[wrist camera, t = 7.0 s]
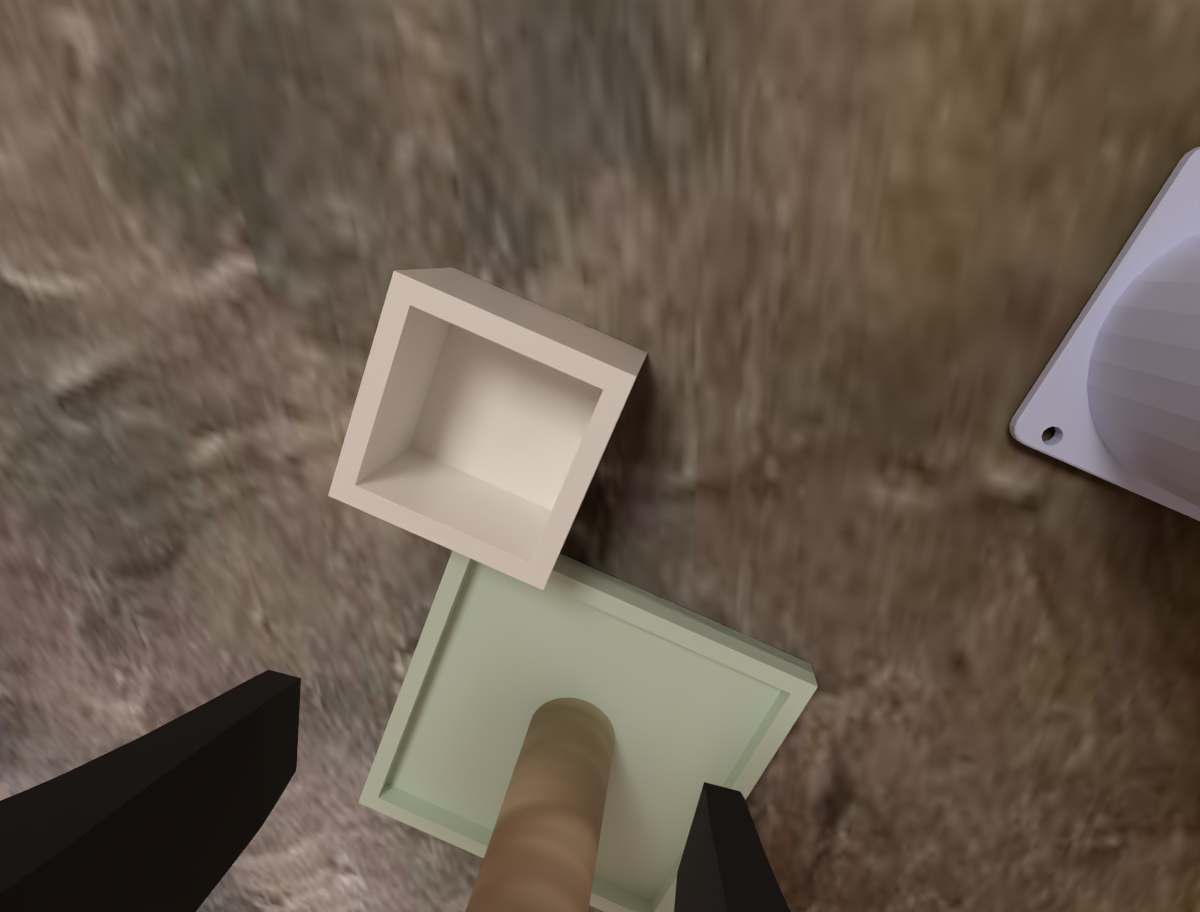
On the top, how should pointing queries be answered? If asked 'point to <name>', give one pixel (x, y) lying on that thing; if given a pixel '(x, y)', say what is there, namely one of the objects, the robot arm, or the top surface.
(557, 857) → the dowel
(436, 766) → the tray
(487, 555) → the open box
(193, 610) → the top surface
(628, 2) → the top surface
